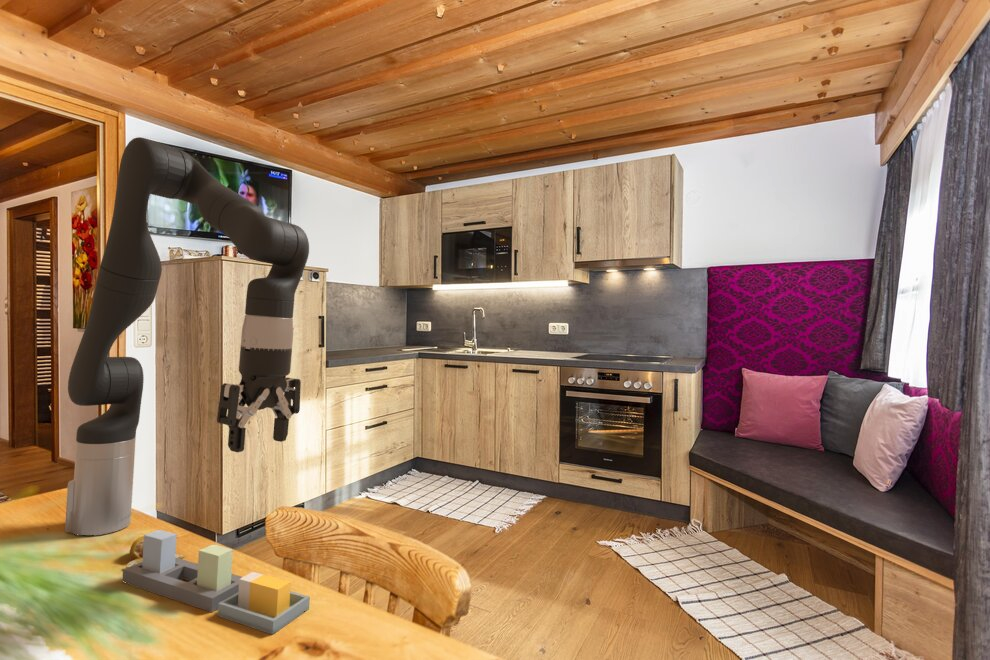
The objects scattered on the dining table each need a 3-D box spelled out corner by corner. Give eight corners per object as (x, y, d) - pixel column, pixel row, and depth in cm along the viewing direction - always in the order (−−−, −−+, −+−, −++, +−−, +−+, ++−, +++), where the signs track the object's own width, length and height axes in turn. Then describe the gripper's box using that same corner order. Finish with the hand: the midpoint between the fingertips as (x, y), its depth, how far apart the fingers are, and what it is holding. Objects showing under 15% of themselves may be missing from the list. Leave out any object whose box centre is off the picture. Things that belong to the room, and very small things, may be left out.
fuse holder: (122, 582, 79) (122, 569, 79) (161, 565, 85) (162, 553, 85) (211, 612, 72) (212, 598, 72) (248, 591, 78) (248, 578, 78)
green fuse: (196, 597, 76) (198, 550, 76) (210, 589, 78) (213, 544, 78) (215, 603, 74) (218, 556, 74) (230, 595, 77) (232, 549, 77)
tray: (217, 616, 71) (218, 603, 71) (256, 593, 78) (257, 581, 78) (272, 634, 68) (273, 621, 68) (309, 608, 74) (309, 596, 74)
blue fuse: (141, 579, 80) (144, 535, 80) (156, 572, 82) (159, 529, 82) (159, 584, 78) (161, 539, 79) (174, 577, 81) (176, 534, 81)
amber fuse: (239, 579, 73) (278, 589, 70) (252, 571, 75) (290, 581, 73) (237, 606, 73) (276, 618, 70) (251, 598, 75) (289, 609, 73)
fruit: (130, 575, 81) (132, 553, 81) (114, 559, 86) (115, 537, 86) (187, 559, 88) (188, 538, 88) (168, 545, 93) (169, 525, 93)
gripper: (282, 342, 88) (275, 434, 88) (210, 342, 75) (201, 450, 75) (316, 346, 86) (309, 441, 86) (247, 347, 72) (238, 459, 72)
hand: (258, 445), depth 80 cm, fingers open, 8 cm apart
